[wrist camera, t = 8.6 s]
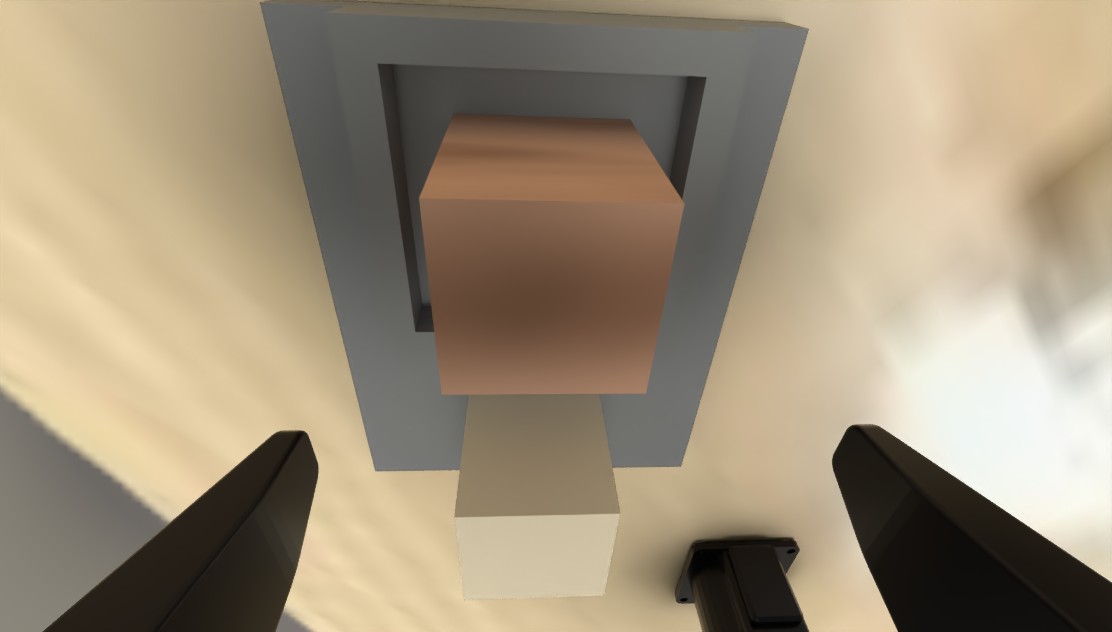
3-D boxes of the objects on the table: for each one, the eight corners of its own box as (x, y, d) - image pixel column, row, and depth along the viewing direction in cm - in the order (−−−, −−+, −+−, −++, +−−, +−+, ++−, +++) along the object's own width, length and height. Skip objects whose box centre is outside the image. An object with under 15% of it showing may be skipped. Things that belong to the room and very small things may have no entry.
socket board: (673, 441, 25) (721, 598, 19) (382, 444, 24) (336, 611, 18) (785, 22, 15) (970, 72, 9) (283, -3, 14) (95, 36, 8)
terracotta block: (611, 270, 18) (645, 393, 13) (464, 268, 17) (441, 394, 12) (630, 119, 15) (684, 204, 10) (453, 113, 14) (418, 198, 9)
